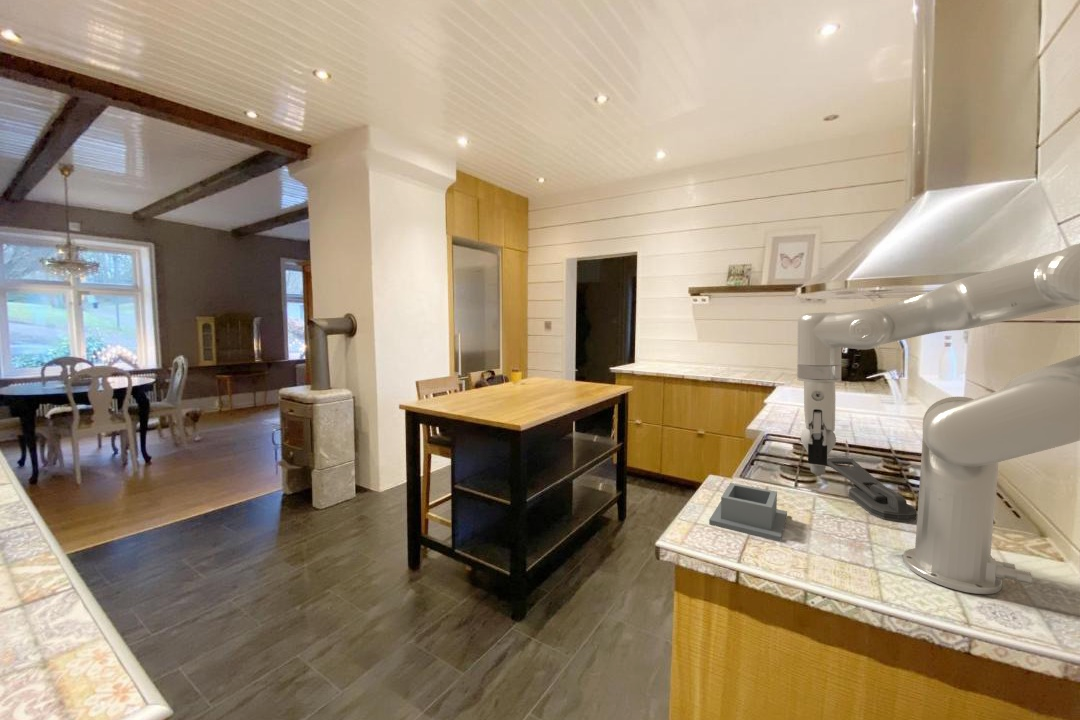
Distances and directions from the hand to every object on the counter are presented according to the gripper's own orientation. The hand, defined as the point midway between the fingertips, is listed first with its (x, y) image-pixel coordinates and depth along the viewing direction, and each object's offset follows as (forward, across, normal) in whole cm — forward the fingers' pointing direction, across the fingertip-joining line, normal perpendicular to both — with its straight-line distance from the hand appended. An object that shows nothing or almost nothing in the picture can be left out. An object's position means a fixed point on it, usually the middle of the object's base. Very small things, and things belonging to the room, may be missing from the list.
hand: (818, 458), depth 88 cm
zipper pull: (+17, +28, -9) cm, 34 cm away
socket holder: (+16, 0, +13) cm, 21 cm away
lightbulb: (+4, 0, 0) cm, 4 cm away
